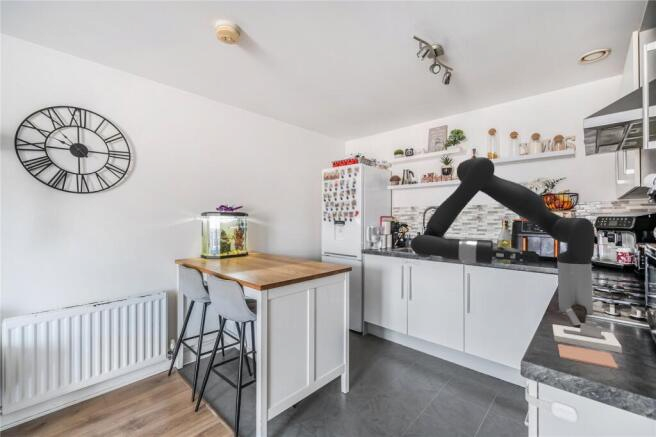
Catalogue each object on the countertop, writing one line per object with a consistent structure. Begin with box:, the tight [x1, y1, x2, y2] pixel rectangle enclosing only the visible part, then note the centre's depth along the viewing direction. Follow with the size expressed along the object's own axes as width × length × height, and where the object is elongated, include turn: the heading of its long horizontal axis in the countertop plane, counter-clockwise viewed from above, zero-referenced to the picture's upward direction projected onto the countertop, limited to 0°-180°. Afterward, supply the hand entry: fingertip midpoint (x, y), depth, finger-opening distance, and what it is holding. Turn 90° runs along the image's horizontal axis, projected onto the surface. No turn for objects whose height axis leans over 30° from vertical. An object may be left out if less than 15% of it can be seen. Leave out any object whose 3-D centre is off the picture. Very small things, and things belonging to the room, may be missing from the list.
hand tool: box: [571, 304, 587, 328], centre depth 91 cm, size 19×4×5 cm, turn 137°
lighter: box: [565, 308, 602, 339], centre depth 79 cm, size 7×2×8 cm, turn 46°
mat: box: [557, 343, 619, 370], centre depth 69 cm, size 8×10×1 cm
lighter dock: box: [552, 324, 623, 354], centre depth 79 cm, size 10×13×2 cm
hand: (537, 256), depth 84 cm, fingers open, 8 cm apart
